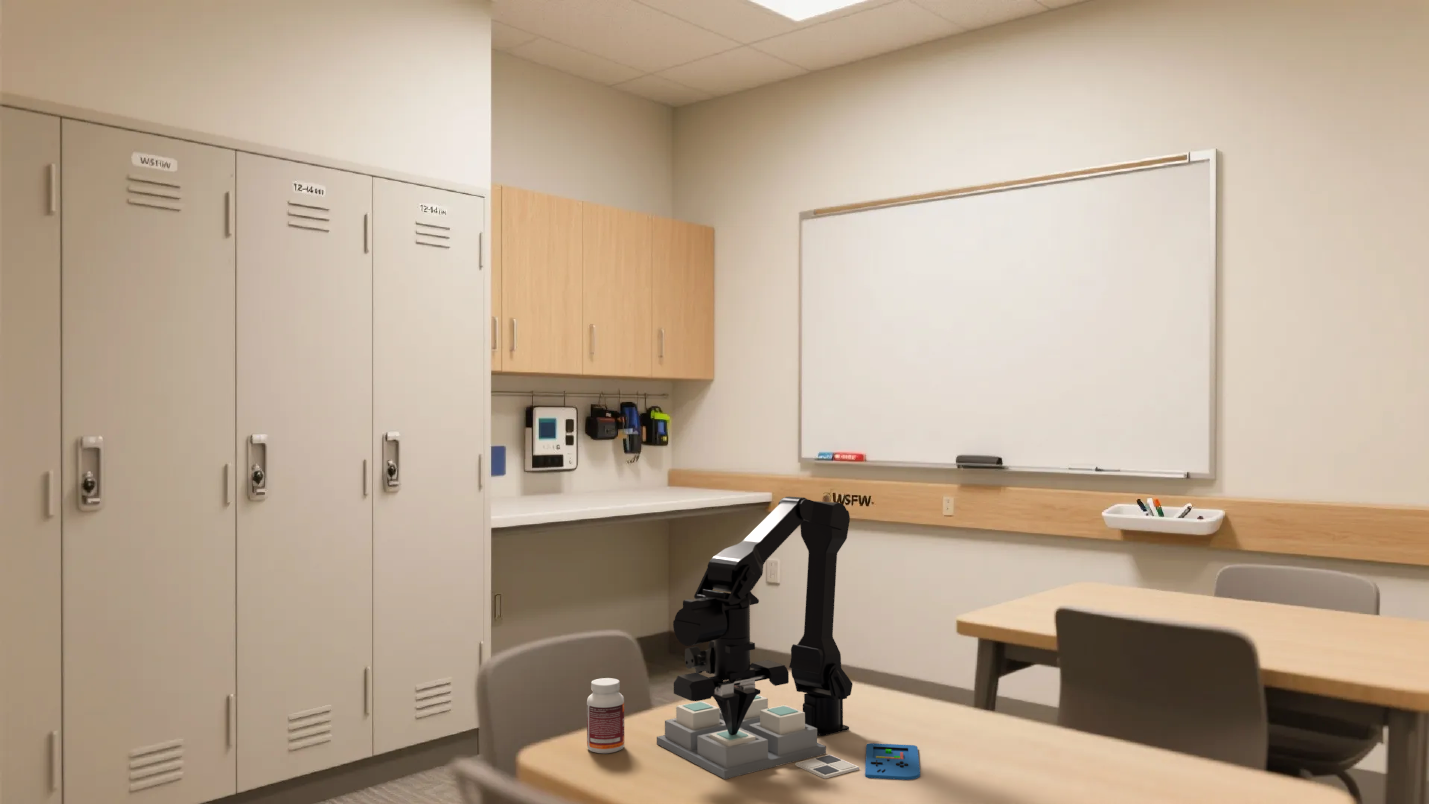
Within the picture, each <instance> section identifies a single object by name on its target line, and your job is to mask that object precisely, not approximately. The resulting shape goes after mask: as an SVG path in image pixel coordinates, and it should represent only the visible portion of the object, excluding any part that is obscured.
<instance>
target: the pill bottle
mask: <svg viewBox="0 0 1429 804" xmlns="http://www.w3.org/2000/svg"><path fill="white" fill-rule="evenodd" d="M590 683H591V684H590V689H591V691H592V693H591V694H590V695H589V696H588V697H587V698H586V699H587V700H586V747H587V749H588V750H589V752H592V753H597V754H611V753H612V754H613V753H617V752H619V751H621V750H623V749H624V748H625V697H624V695H622V693H620V688H621V686H620V685H621V684H620V680H619V679H617V678H611V677H605V678H603V677H601V678H597V679H593V680H591V682H590Z"/></svg>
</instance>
